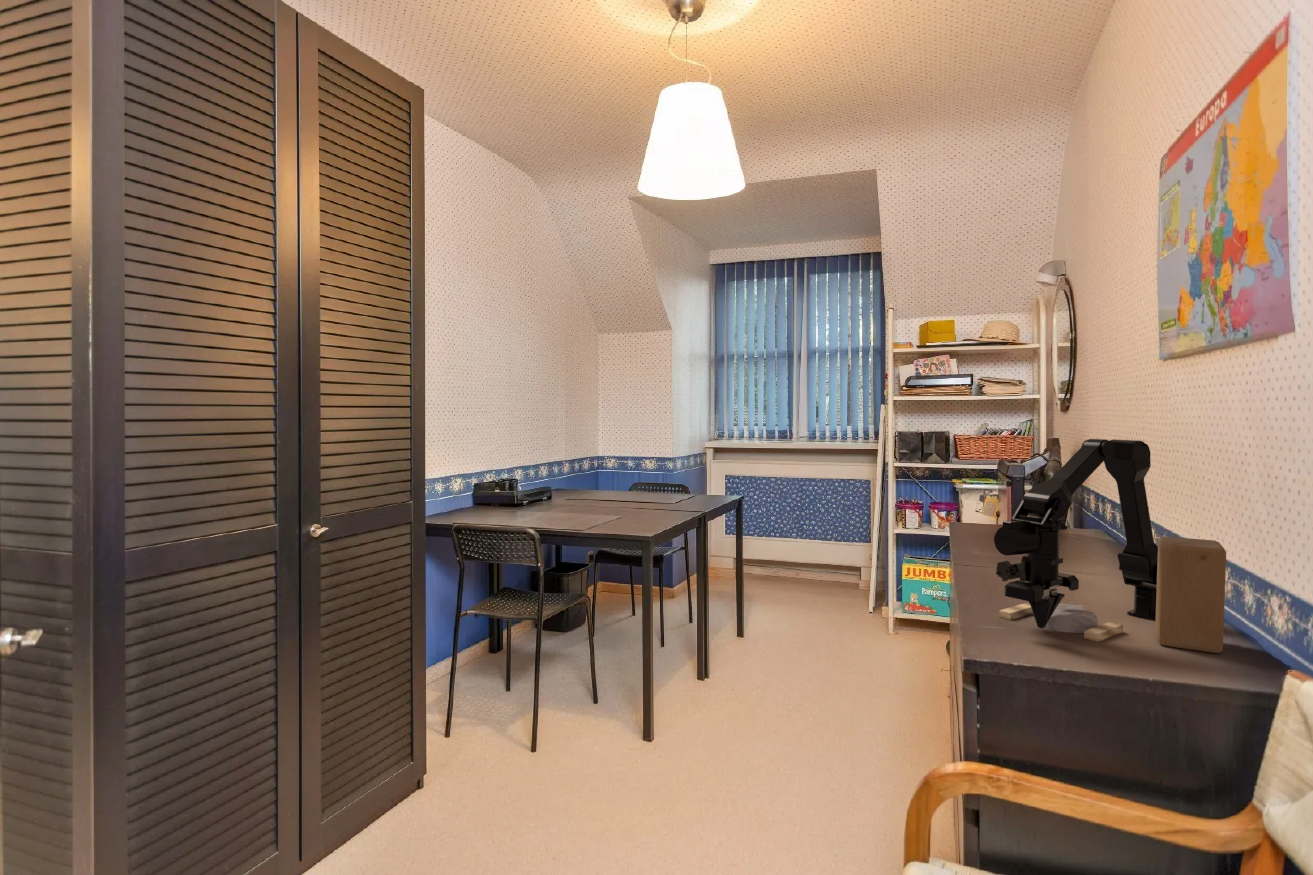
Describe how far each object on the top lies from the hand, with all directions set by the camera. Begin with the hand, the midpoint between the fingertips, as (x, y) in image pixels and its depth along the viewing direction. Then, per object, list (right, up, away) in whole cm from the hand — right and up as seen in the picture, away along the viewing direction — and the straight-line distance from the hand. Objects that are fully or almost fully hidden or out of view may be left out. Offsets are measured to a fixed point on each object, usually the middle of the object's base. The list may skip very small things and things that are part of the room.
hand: (1041, 627), depth 149 cm
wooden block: (+24, -1, -8) cm, 26 cm away
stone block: (+7, -1, +5) cm, 8 cm away
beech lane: (+6, -1, +4) cm, 7 cm away
